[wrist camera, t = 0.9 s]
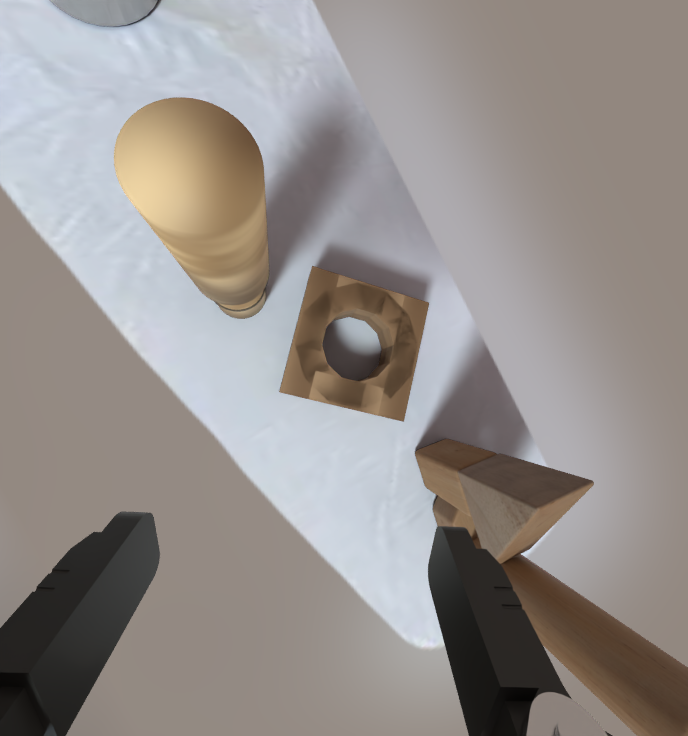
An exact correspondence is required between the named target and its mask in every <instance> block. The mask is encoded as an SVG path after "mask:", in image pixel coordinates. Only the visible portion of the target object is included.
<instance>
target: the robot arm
mask: <svg viewBox="0 0 688 736" xmlns="http://www.w3.org/2000/svg"><path fill="white" fill-rule="evenodd" d="M50 1H51V2H52V3H53V4H54V5H55V6H57V7H58V8H59V9H60V10H62V11H64V12H65V13H67V14H68V15H70V16H72V17H74V18H76V19H79V20H81V21H83V22H86V23H90V24H94V25H99V26H113V27H114V26H121V25H127V24H130V23H133V22H136V21H138V20H140V19H141V18H143V17H144V16H146V15H147V14H148V13H149V12H150V11H151V10H152V9H153V8H154V7H155V5H156V3H157V1H158V0H50ZM159 557H160V552H159V545H158V540H157V534H156V528H155V523H154V517H153V515H152V514H151V513H143V512H120V513H118V514H117V515H116V516H115V517H114V518H113V519H112V520H111V521H110V523H109V524H108V525H107V526H106V527H105V529H104V530H103V531H102V532H93V533H92V534H90V535H89V536H88V537H86V538H85V539H83V540H82V541H81V542H79V543H78V544H77V545H75V546H74V547H72V548H71V549H70V550H69V551H68V552H67V553H66V555H65V556H64V557H63V558H62V559H61V560H60V561H59V562H58V564H57V565H56V566H55V567H54V568H53V569H52V572H51V574H48V575H47V576H46V577H45V578H44V579H43V580H42V582H41V583H40V584H39V585H38V586H37V589H36V591H35V592H32V593H31V594H30V595H29V596H28V598H27V599H26V600H25V601H24V602H23V603H22V604H21V605H20V607H19V608H18V609H17V610H16V611H15V612H14V613H13V614H12V616H11V617H10V618H9V619H8V620H7V621H6V622H5V623H4V625H3V626H2V627H1V628H0V736H66V734H67V732H68V730H69V729H70V727H71V725H72V723H73V721H74V719H75V718H76V716H77V714H78V712H79V711H80V709H81V707H82V705H83V703H84V702H85V700H86V698H87V696H88V694H89V693H90V691H91V689H92V687H93V686H94V684H95V682H96V680H97V678H98V676H99V675H100V673H101V671H102V669H103V668H104V666H105V664H106V662H107V660H108V659H109V657H110V655H111V653H112V651H113V650H114V648H115V646H116V644H117V642H118V641H119V639H120V637H121V635H122V633H123V632H124V630H125V628H126V626H127V624H128V623H129V621H130V619H131V617H132V616H133V614H134V612H135V610H136V608H137V607H138V605H139V603H140V601H141V599H142V598H143V596H144V594H145V592H146V590H147V588H148V587H149V585H150V583H151V581H152V580H153V578H154V576H155V573H156V571H157V568H158V564H159ZM428 579H429V586H430V590H431V594H432V598H433V602H434V605H435V609H436V613H437V617H438V621H439V624H440V628H441V632H442V636H443V639H444V643H445V647H446V651H447V655H448V658H449V662H450V666H451V669H452V673H453V677H454V681H455V685H456V688H457V692H458V696H459V700H460V704H461V707H462V711H463V715H464V719H465V723H466V726H467V730H468V733H469V736H612V735H610V734H609V733H607V732H606V731H604V730H603V728H602V727H601V726H600V724H599V723H598V722H597V721H596V720H595V719H594V718H593V716H592V715H591V714H590V713H589V712H587V711H586V710H585V709H584V708H583V707H582V706H581V705H579V704H578V703H577V702H575V701H573V700H572V699H571V697H570V696H569V694H568V693H567V691H566V690H565V688H564V686H563V685H562V683H561V681H560V679H559V677H558V675H557V673H556V671H555V669H554V667H553V665H552V663H551V661H550V659H549V657H548V655H547V653H546V651H545V649H544V647H543V645H542V643H541V641H540V639H539V637H538V635H537V633H536V631H535V629H534V628H533V626H532V624H531V622H530V620H529V618H528V616H527V614H526V612H525V610H523V609H522V604H521V602H520V600H519V598H518V596H517V594H516V592H515V591H513V586H512V584H511V582H510V580H509V578H508V576H507V574H506V572H505V570H504V569H503V567H502V565H501V564H500V563H499V562H498V561H497V560H496V559H495V558H494V557H493V556H492V555H491V553H490V552H489V551H488V550H487V549H476V547H475V545H474V542H473V540H472V538H471V536H470V534H469V532H468V530H467V529H466V528H465V527H449V526H438V527H437V529H436V532H435V537H434V541H433V546H432V550H431V555H430V559H429V564H428Z"/></svg>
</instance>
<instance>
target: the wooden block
mask: <svg viewBox="0 0 688 736" xmlns="http://www.w3.org/2000/svg"><path fill="white" fill-rule="evenodd" d="M415 456H416V459H417V462H418V465H419V468H420V472H421V475H422V478H423V481H424V484H425V487H426V488H427V489H429V490H430V491H432V492H433V493H435V494H436V495H438V497H437V499H436V501H435V504H434V506H433V512H434V516H435V519H436V522H437V525H438V526H449V527H465V528H466V529H467V530H468V532H469V534H470V536H471V538H472V540H473V542H474V545H475V547H476V549H487V550H488V551H489V552H490V553H491V555H492V556H493V557H494V558H495V559H496V560H497V561H498V562H499V563H500V564H501V565H502V567H503V569H504V570H505V572H506V574H507V576H508V578H509V580H510V582H511V584H512V586H513V591H515V592H516V594H517V596H518V598H519V600H520V602H521V604H522V609H523V610H525V612H526V614H527V616H528V618H529V620H530V622H531V624H532V626H533V628H534V629H535V631H536V633H537V635H538V637H539V639H540V641H541V643H542V645H543V646H544V647H546V648H547V649H548V650H549V651H550V652H551V653H552V654H553V655H554V656H555V657H556V658H557V659H558V660H559V661H560V662H561V663H562V664H563V665H564V666H565V667H566V668H567V669H568V670H569V671H570V672H572V673H573V674H574V675H575V676H576V677H577V678H578V679H579V680H580V681H581V682H582V683H583V684H584V685H585V686H586V687H587V688H588V689H589V690H590V691H591V692H592V693H593V694H594V695H595V696H596V697H598V698H599V699H600V700H601V701H602V702H603V703H604V704H605V705H606V706H607V707H608V708H609V709H610V710H611V711H612V712H613V713H614V714H615V715H616V716H617V717H618V718H619V719H620V720H621V721H622V722H623V723H624V724H625V725H627V726H628V727H629V728H630V729H631V730H632V731H633V732H634V733H635V734H636V735H637V736H688V667H686V666H685V665H683V664H682V663H680V662H679V661H677V660H676V659H674V658H673V657H671V656H670V655H668V654H667V653H665V652H664V651H663V650H661V649H660V648H658V647H656V646H655V645H654V644H652V643H651V642H649V641H648V640H646V639H645V638H643V637H642V636H640V635H639V634H637V633H636V632H635V631H633V630H632V629H630V628H629V627H627V626H625V625H624V624H623V623H621V622H620V621H618V620H617V619H615V618H614V617H612V616H611V615H609V614H608V613H607V612H605V611H604V610H602V609H601V608H599V607H598V606H596V605H595V604H593V603H592V602H590V601H589V600H587V599H586V598H584V597H583V596H581V595H580V594H578V593H577V592H575V591H574V590H573V589H571V588H570V587H568V586H567V585H565V584H564V583H562V582H561V581H559V580H558V579H557V578H555V577H554V576H552V575H551V574H549V573H548V572H546V571H545V570H543V569H542V568H540V567H539V566H537V565H536V564H534V563H533V562H531V561H530V560H529V559H527V558H526V557H524V556H523V555H521V553H523V552H525V551H527V550H529V549H530V548H531V547H532V546H533V545H534V544H535V543H536V542H537V541H538V540H539V539H540V538H541V537H542V536H543V535H544V534H545V533H546V532H547V531H548V530H549V529H550V528H551V527H552V526H553V525H554V524H555V523H556V522H557V521H558V520H559V519H560V518H561V517H562V516H563V515H564V514H565V513H566V512H567V511H568V510H569V509H570V508H571V507H572V506H573V505H574V504H575V503H576V502H577V501H578V500H579V499H580V498H581V497H582V496H583V495H584V494H585V493H586V492H587V491H588V490H589V489H590V488H591V487H592V486H593V485H594V482H593V481H592V480H588V479H585V478H582V477H579V476H575V475H572V474H568V473H565V472H561V471H558V470H555V469H551V468H548V467H545V466H541V465H538V464H534V463H531V462H528V461H524V460H521V459H517V458H514V457H511V456H507V455H504V454H498V455H497V454H496V453H494V452H491V451H487V450H484V449H481V448H477V447H474V446H471V445H467V444H464V443H460V442H457V441H454V440H450V439H444V440H441V441H439V442H436V443H434V444H431V445H429V446H426V447H424V448H421V449H419V450H417V451H416V452H415Z"/></svg>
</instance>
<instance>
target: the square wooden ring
mask: <svg viewBox="0 0 688 736" xmlns="http://www.w3.org/2000/svg"><path fill="white" fill-rule="evenodd" d="M428 306H429V303H428V302H425V301H422V300H419V299H415V298H412V297H409V296H406V295H403V294H400V293H396V292H393V291H390V290H387V289H384V288H381V287H377V286H374V285H371V284H368V283H365V282H362V281H358V280H355V279H352V278H349V277H346V276H343V275H339V274H336V273H333V272H330V271H327V270H324V269H320V268H317V267H314V266H312V269H311V272H310V275H309V279H308V283H307V287H306V290H305V294H304V298H303V302H302V306H301V310H300V313H299V317H298V321H297V325H296V329H295V333H294V337H293V340H292V344H291V348H290V352H289V356H288V360H287V364H286V367H285V371H284V375H283V379H282V383H281V387H280V391H279V392H281V393H285V394H290V395H294V396H298V397H302V398H306V399H311V400H315V401H319V402H323V403H327V404H332V405H336V406H340V407H344V408H349V409H353V410H357V411H361V412H365V413H370V414H374V415H378V416H382V417H386V418H391V419H395V420H399V421H403V422H404V418H405V413H406V409H407V404H408V399H409V395H410V390H411V385H412V381H413V376H414V371H415V367H416V362H417V357H418V353H419V348H420V343H421V339H422V334H423V329H424V325H425V320H426V316H427V311H428ZM346 317H353V318H356V319H359V320H363V321H366V322H367V323H368V324H369V325H370V326H371V327H372V328H373V330H374V331H375V332H376V333H377V334H378V338H379V341H380V345H381V348H382V351H381V355H380V360H379V364H378V366H377V367H376V368H375V370H374V371H373V372H372V373H371V374H370V375H369V376H368V377H367V378H365V379H361V380H358V381H354V380H350V379H346V378H342V377H341V376H340V375H339V374H337V373H336V372H335V371H334V370H333V369H332V368H331V367H330V366H329V365H328V364H327V360H326V357H325V353H324V350H323V346H322V343H323V339H324V335H325V331H326V327H327V326H328V325H329V324H330V323H331V322H332V321H334V320H338V319H342V318H346Z"/></svg>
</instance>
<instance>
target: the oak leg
mask: <svg viewBox="0 0 688 736" xmlns="http://www.w3.org/2000/svg"><path fill="white" fill-rule="evenodd" d="M114 166H115V170H116V175H117V178H118V180H119V183H120V185H121V187H122V189H123V191H124V193H125V194H126V196H127V197H128V198H129V200H130V201H131V202H132V204H133V205H134V206H135V208H136V209H137V210H138V211H139V213H140V214H141V215H142V217H143V218H144V219H145V220H146V222H147V223H148V224H149V226H150V227H151V228H152V229H153V231H154V232H155V233H156V235H157V236H158V237H159V238H160V240H161V241H162V242H163V244H164V245H165V246H166V247H167V249H168V250H169V251H170V253H171V254H172V255H173V257H174V258H175V259H176V260H177V262H178V263H179V264H180V266H181V267H182V268H183V269H184V271H185V272H186V273H187V275H188V276H189V277H190V278H191V280H192V281H193V282H194V284H195V285H196V286H197V287H198V289H199V290H200V291H201V292H202V293H203V294H204V295H205V296H206V297H208V298H209V299H211V300H213V301H214V302H215V303H216V304H217V305H218V306H219V307H220V309H221V310H222V311H223V312H224V313H225V314H227V315H229V316H231V317H234V318H238V319H245V318H249V317H252V316H254V315H256V314H257V313H258V312H259V311H260V310H261V309H262V307H263V305H264V303H265V299H266V293H265V288H266V284H267V281H268V278H269V256H268V238H267V219H266V200H265V182H264V166H263V160H262V156H261V153H260V150H259V147H258V145H257V143H256V141H255V139H254V138H253V136H252V135H251V133H250V132H249V131H248V130H247V128H246V127H245V126H244V125H243V124H242V123H241V122H240V121H239V120H238V119H237V118H235V117H234V116H233V115H231V114H230V113H229V112H227V111H225V110H224V109H222V108H220V107H218V106H216V105H214V104H212V103H208V102H205V101H202V100H198V99H193V98H169V99H163V100H159V101H156V102H153V103H151V104H148V105H146V106H144V107H143V108H141V109H139V110H138V111H137V112H136V113H134V114H133V115H132V116H131V117H130V118H129V119H128V120H127V121H126V123H125V124H124V126H123V127H122V129H121V130H120V133H119V135H118V137H117V140H116V144H115V150H114Z"/></svg>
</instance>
